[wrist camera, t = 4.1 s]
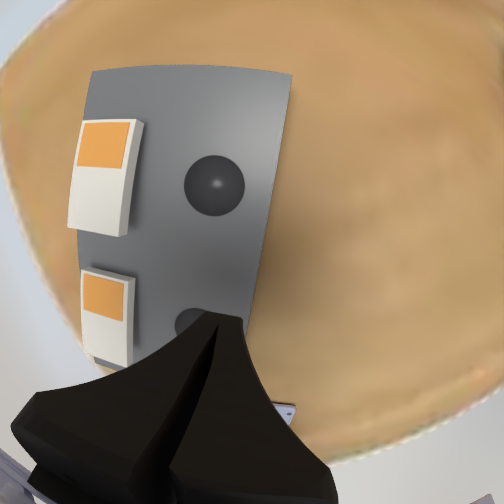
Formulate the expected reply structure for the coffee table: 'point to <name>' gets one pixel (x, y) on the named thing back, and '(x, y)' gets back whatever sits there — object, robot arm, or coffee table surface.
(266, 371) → the coffee table surface
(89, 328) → the rocker
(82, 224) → the rocker
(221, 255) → the grey switch panel
